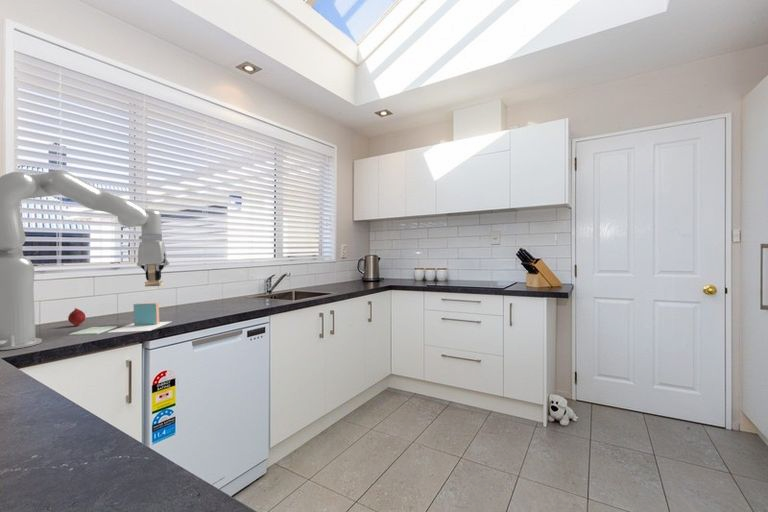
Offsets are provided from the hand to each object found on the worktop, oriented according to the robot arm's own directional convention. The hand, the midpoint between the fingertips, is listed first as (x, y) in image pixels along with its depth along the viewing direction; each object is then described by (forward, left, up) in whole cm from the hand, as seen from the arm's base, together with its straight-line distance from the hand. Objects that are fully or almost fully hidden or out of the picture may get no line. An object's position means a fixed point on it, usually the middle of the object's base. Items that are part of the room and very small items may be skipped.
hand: (153, 279), depth 161 cm
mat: (-11, 0, -19) cm, 22 cm away
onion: (+1, +33, -20) cm, 38 cm away
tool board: (-16, +15, -19) cm, 29 cm away
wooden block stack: (0, 0, -3) cm, 3 cm away
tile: (-7, 0, -19) cm, 20 cm away
